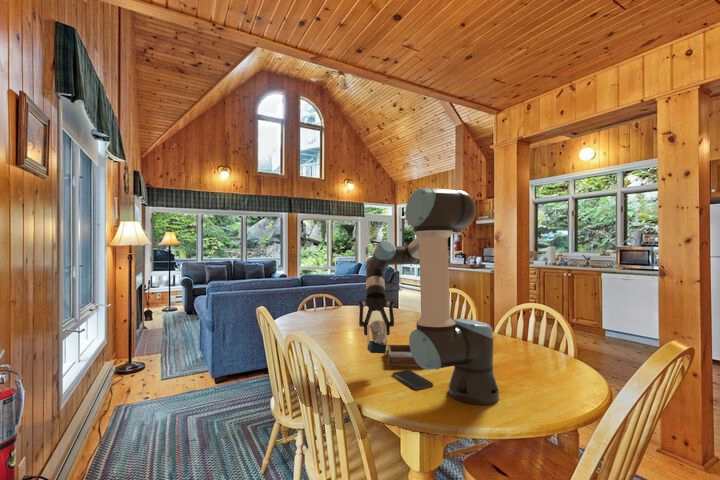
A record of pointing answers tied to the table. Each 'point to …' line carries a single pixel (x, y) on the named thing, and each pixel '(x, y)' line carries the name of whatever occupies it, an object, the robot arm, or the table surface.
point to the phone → (412, 380)
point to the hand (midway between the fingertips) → (377, 342)
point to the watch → (377, 337)
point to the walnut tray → (400, 357)
